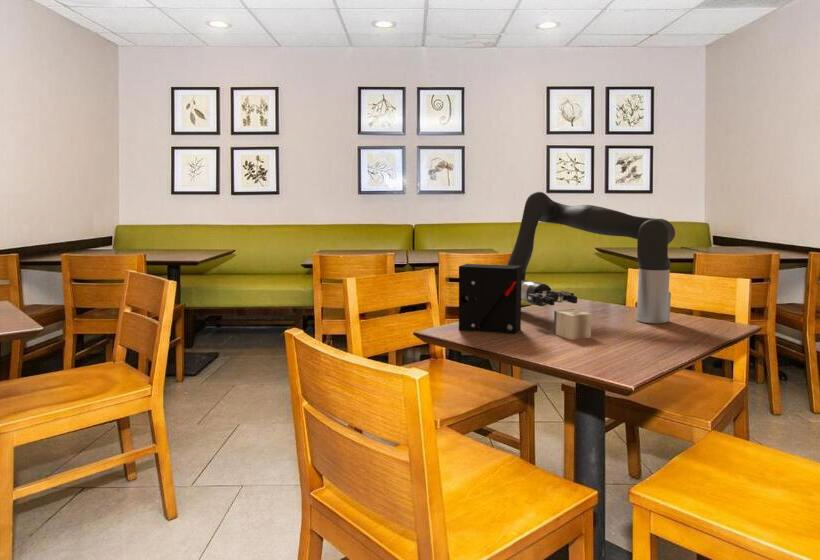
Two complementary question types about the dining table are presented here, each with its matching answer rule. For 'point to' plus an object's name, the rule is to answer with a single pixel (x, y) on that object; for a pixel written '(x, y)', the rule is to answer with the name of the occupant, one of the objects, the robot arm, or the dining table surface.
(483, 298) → the electrical component
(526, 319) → the dining table surface
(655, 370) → the dining table surface
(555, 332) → the birch block
